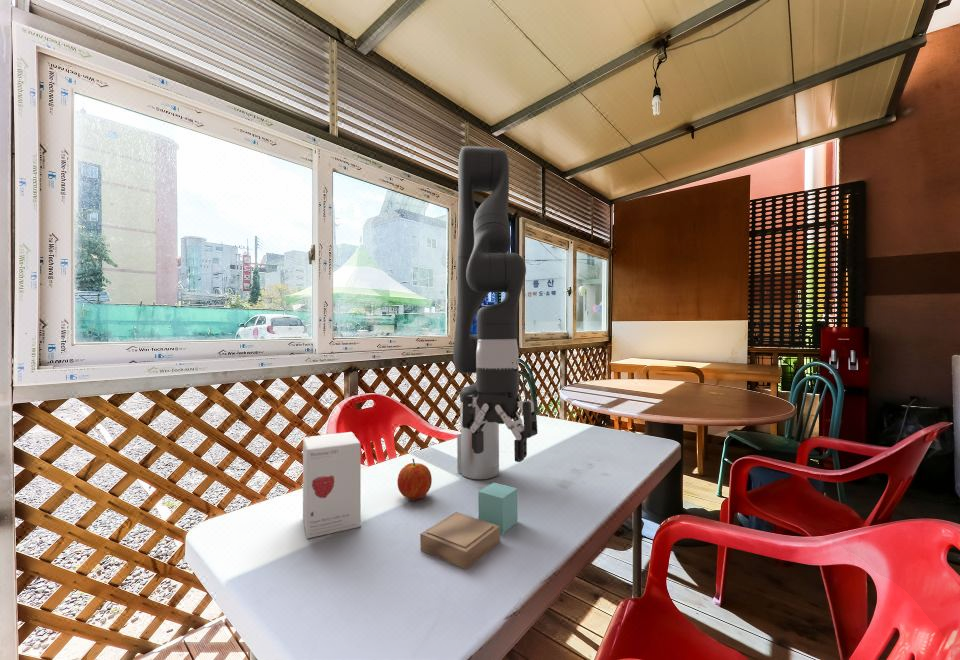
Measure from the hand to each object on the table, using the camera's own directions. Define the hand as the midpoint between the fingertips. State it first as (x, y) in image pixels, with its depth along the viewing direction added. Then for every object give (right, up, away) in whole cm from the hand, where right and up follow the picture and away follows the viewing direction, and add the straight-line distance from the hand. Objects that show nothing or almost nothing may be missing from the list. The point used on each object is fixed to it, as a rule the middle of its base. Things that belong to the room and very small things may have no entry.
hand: (498, 456), depth 70 cm
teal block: (0, -12, 0) cm, 12 cm away
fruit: (-17, -12, +11) cm, 24 cm away
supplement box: (-30, -12, +1) cm, 32 cm away
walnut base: (-6, -12, -7) cm, 15 cm away
